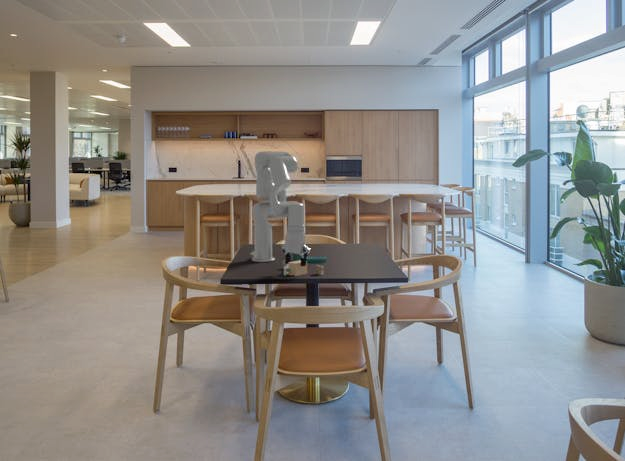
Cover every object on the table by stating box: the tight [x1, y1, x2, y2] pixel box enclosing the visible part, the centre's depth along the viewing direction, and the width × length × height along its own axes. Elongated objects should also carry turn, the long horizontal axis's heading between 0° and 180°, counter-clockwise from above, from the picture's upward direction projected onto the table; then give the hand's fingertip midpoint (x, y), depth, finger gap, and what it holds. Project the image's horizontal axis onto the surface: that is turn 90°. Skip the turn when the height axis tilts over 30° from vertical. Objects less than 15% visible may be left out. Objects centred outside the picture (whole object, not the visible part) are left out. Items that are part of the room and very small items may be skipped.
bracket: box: [292, 252, 328, 264], centre depth 313 cm, size 18×7×8 cm, turn 82°
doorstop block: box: [287, 260, 308, 277], centre depth 279 cm, size 5×8×6 cm, turn 140°
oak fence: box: [282, 260, 325, 276], centre depth 285 cm, size 25×2×4 cm, turn 51°
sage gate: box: [283, 264, 289, 276], centre depth 282 cm, size 15×2×4 cm, turn 172°
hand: (295, 264), depth 278 cm, fingers open, 9 cm apart
